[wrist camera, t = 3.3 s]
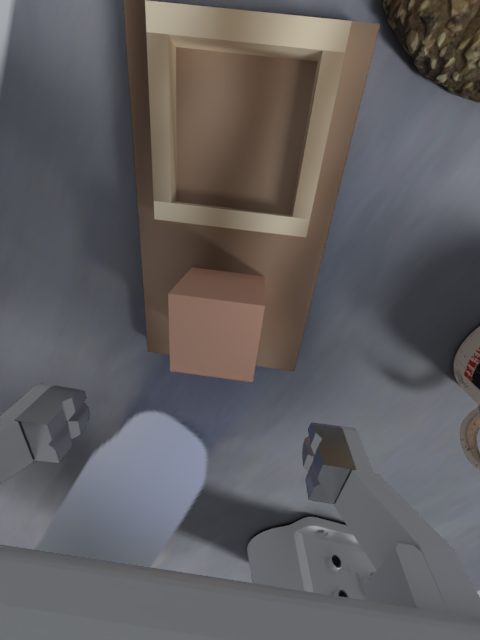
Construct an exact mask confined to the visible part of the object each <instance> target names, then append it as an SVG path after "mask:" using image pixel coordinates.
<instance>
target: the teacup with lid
mask: <svg viewBox="0 0 480 640" xmlns="http://www.w3.org/2000/svg"><path fill="white" fill-rule="evenodd" d="M454 375H455V378H456V380H457V382H458V383H459V385H460V386H461V387H462V388H463V389H464V390H465V391H466V392H467V393H468V394H469V395H470V396H471V397H472V398H473V399H474V400H475V401H476V402H477V403H478V404H479V406H478V407H477V408H476V409H474V410H473V411H472V412H470V413H469V414H468V415H467V416H466V418H465V419H464V420H463V422H462V424H461V428H460V442H461V446H462V449H463V451H464V453H465V455H466V457H467V459H468V460H469V461H470V463H471V464H472V465H473V466H474V467H475V468H476V469H477V470H478V471H480V453H479V450H478V447H477V433H478V431H479V429H480V326H479V327H478V328H476V329H475V330H474V331H473V332H472V333H471V334H470V335H469V336H468V337H467V338H466V339H465V340H464V342H463V343H462V344H461V346H460V347H459V349H458V351H457V354H456V356H455V360H454Z"/></svg>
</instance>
